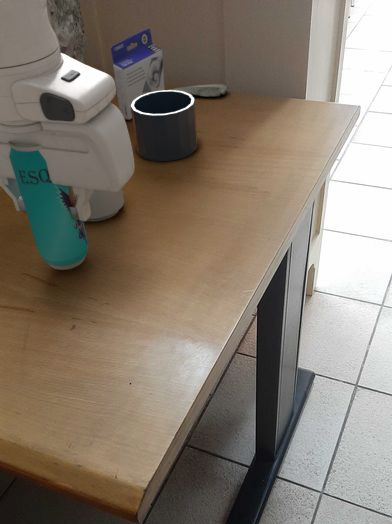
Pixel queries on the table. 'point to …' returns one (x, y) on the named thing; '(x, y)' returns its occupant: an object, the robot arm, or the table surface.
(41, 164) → the beverage can
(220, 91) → the stone
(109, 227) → the table surface
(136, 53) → the ink box
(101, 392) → the table surface
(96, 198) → the can
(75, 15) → the rock
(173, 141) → the cup
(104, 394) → the table surface
